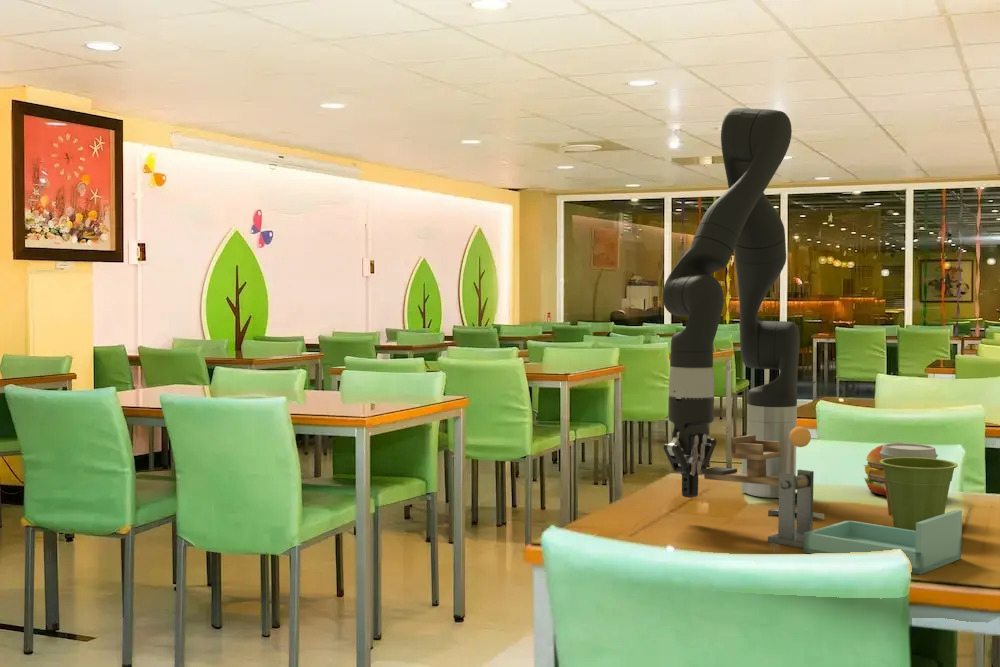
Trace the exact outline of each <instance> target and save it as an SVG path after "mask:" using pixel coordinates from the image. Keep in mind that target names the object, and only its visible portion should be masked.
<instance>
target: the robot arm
mask: <svg viewBox="0 0 1000 667" xmlns="http://www.w3.org/2000/svg"><path fill="white" fill-rule="evenodd" d="M723 117H724V118H723V120H722V124H721V129H720V144H721V145H720V147H721V152H722V159H723V164H724V170H725V175H726V181H727V185H728V186H727V188H728V189H727V190H725V192H723V194H721V195H720V196H719V197H718V198H717V199H716V200H715V201H714V202H713V203H712V204H711V205H710V206H709V207H708V209H706V211H705V213H704V214H703V216H702V218H701V219H700V222H699V224H698V227H697V230H696V231H695V234H694V237H693V238H692V239H693V240H692V241H691V244H690V246H689V249H687V251H685V253H684V254H683V256H682V257H681V258H680V259H679V261H678V262H677V264H676V265H675V267H673V269H672V270H671V272H670V273H669V275H668V277H667V279H666V280H665V283H664V285H663V290H662V302H663V305H664V308H665V309H666V310H667V312H668V313H669V314H672V315H673V316H675V317H688V318H687V322H686V325H685V329H684V330H681V331H678V332H675V333H674V334H672V337H671V341H670V370H669V376H668V401H667V402H668V408H667V410H668V411H667V413H668V416H667V419H668V421H669V422H671V423H673V430H672V433H671V435H672V440H671V441H670V442H669V443H665V444H664V445H663V451H664V453H665V455H666V457H667V459H668V461H669V463H670V465H671V468H672V470H673V471H674V472H676V473H679V474H680V475H681V495H682V497H683V498H691V499H692V498H696V497H698V495H699V475H701V474H702V473H701V470H703V469H708V465H709V463H710V460H711V458H712V455H713V453H714V450H715V448H716V445H717V439H716V438H711V437H710V436H709V432H710V431H709V428H708V424H711V423H713V422H714V419H715V418H714V417H715V416H714V415H715V377H714V342H715V339H716V335H717V331H718V327H719V324H720V320H721V316H722V312H723V308H724V304H725V303H724V302H725V297H724V291H723V288H722V285H721V283H720V281H719V280H718V279H717V278H716V277H715V276H713V275H712V274H714V273H716V272H718V271H721V270H723V269H725V268H726V267H727V266H728V264H729V263H730V261H731V258H732V255H733V254H734V260H735V261H734V263H735V268H736V270H735V271H736V276H737V277H736V278H737V287H738V300H739V303H738V304H739V305H738V306H739V347H740V349H739V350H740V355H741V361H742V363H743V365H744V366H745V367H747V368H750V369H756V370H779V375H778V376H777V377H776V378H774V380H772V381H770V382H768V383H766V384H763V385H758V386H755V387H752V388H751V389H749V390H748V392H747V399H746V400H747V405H746V406H747V410H746V411H747V413H746V414H747V416H746V417H747V418H746V419H747V420H746V424H747V425H746V436H747V435H756V440H764V441H780V449H781V457H775V458H770V459H766V476H777V477H779V474H780V473H784V474H791V475H796V476H797V446H795V445H793V444H792V443H791V441H790V437H789V436H790V432H791V431H792V429H794V428H795V427H798V426H797V425H798V421H797V419H798V418H797V416H798V414H797V413H798V412H797V411H798V373H799V372H798V369H799V356H800V348H801V347H800V343H801V342H800V341H801V340H800V339H801V338H800V330H799V326H798V325H797V324H796V323H795V322H793V321H784V320H781V321H780V320H779V321H778V320H777V321H776V320H773V321H772V320H759V318H758V317H759V316H758V314H759V310H760V307H761V305H762V304H763V302H764V299H765V298H766V296H767V294H768V292H769V291H770V289H771V288H772V287H773V285H774V283H775V282H776V281H777V279H778V277H779V276H780V275H781V273H782V272H783V269H784V268H785V265H786V262H787V243H786V232H785V226H784V223H783V220H782V219H781V216H780V215H779V212H778V211H777V210H776V208H775V207H774V205H773V204H772V202H771V200H770V199H769V198H768V197H767V195H766V193H765V191H766V189H767V187H768V185H769V184H770V182H771V180H772V179H773V177H774V176H775V174H776V172H777V171H778V168H779V167H780V166H781V164H782V162H783V160H784V158H785V157H786V154H787V152H788V150H789V147H790V144H791V140H792V122H791V120H790V117H789V116H788V115H787V113H785V112H784V111H781V110H777V109H769V108H767V109H766V108H765V109H761V108H748V107H745V108H744V107H737V108H736V107H735V108H732V109H730V110H729V111H727V112H726V114H725V115H724V116H723ZM741 460H742V461H741V473H742V474H747V459H741ZM741 493H744V494H747V495H749V496H754V497H762V498H770V499H771V498H773V499H775V498H778V499H779V486H775V485H765V484H754V483H743V482H741Z"/></svg>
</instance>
